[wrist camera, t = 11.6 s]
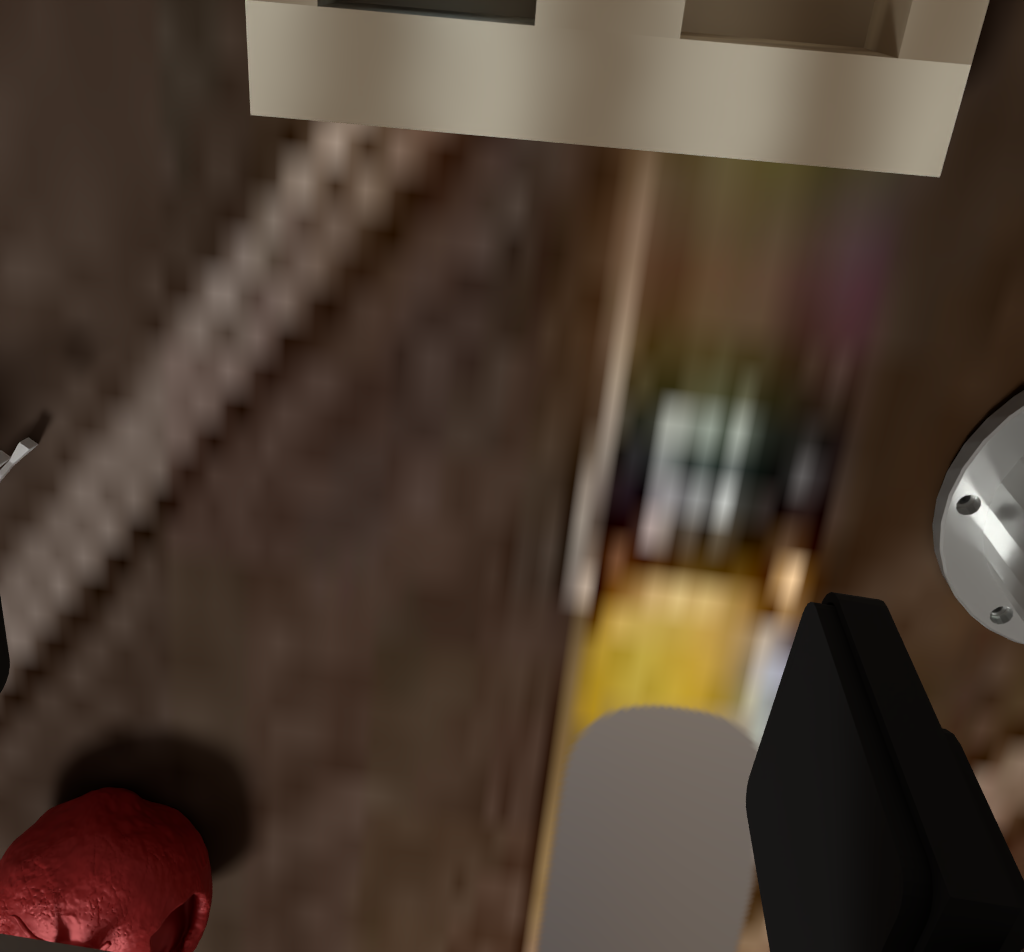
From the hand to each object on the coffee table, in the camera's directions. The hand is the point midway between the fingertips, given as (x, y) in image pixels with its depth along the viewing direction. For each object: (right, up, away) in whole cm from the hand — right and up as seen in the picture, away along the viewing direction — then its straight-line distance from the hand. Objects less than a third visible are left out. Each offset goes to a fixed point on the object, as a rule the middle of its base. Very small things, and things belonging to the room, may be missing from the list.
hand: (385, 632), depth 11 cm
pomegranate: (-18, -16, +38) cm, 45 cm away
